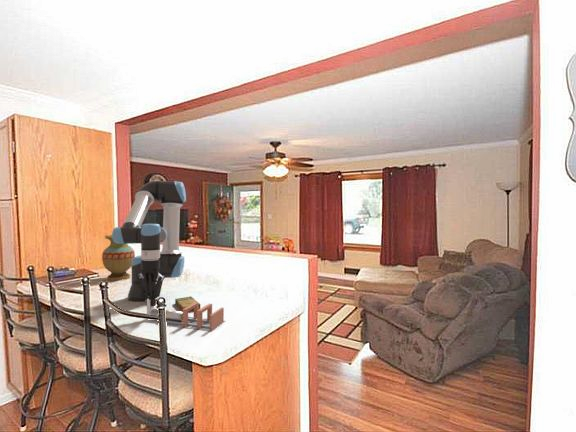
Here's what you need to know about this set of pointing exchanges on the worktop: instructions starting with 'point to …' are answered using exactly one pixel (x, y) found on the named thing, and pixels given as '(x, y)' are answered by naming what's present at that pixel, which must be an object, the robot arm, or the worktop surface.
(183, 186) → the robot arm
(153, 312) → the tube
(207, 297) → the worktop surface
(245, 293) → the worktop surface
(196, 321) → the collar deck
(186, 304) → the carton
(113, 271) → the vase
